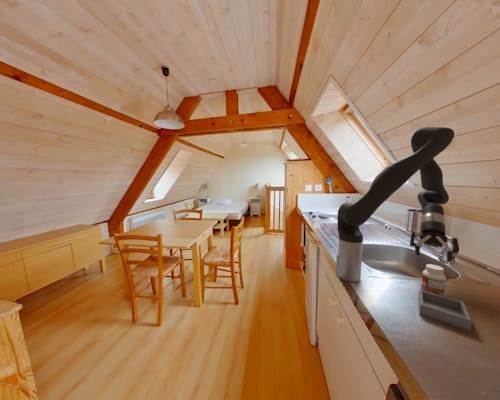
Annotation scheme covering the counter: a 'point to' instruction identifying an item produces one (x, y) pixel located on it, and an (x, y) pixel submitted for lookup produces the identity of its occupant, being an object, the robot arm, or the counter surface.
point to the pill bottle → (433, 280)
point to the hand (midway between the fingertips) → (432, 258)
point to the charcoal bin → (444, 310)
